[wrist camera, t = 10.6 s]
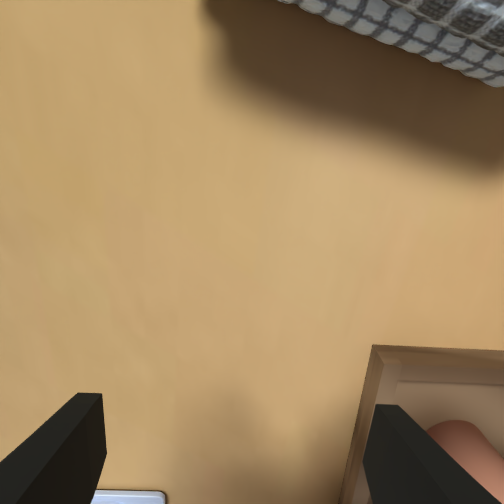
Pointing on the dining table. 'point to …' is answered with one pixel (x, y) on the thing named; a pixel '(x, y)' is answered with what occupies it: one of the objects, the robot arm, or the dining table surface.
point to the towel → (428, 29)
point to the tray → (427, 398)
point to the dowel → (472, 453)
